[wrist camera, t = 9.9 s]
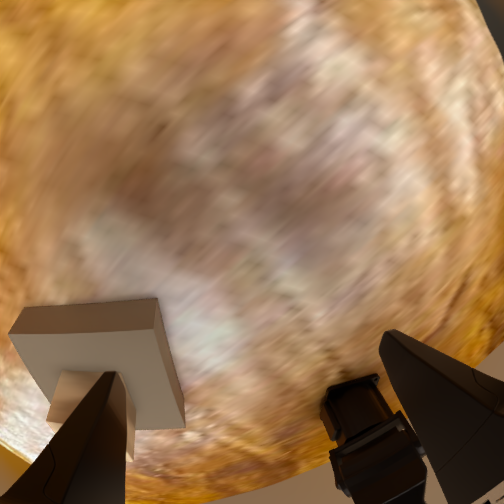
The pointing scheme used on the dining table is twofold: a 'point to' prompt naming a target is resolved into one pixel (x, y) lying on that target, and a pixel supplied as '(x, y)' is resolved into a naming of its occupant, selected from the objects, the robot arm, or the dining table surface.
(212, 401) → the dining table surface
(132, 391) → the gray block
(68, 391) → the cream cube
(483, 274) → the dining table surface
